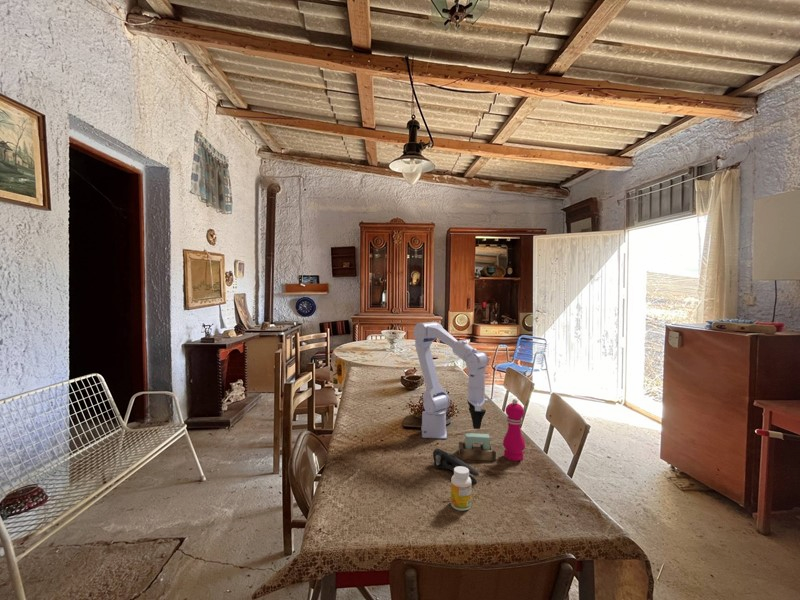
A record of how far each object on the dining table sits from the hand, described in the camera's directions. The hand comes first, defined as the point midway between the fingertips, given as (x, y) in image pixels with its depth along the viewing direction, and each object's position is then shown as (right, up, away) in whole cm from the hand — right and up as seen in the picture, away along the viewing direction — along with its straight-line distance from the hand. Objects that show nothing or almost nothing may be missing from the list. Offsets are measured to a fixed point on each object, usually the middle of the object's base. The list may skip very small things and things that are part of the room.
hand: (475, 424), depth 133 cm
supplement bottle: (-11, -11, -33) cm, 36 cm away
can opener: (-10, -10, -15) cm, 21 cm away
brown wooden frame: (0, -10, -4) cm, 10 cm away
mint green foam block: (0, -10, -3) cm, 10 cm away
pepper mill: (+12, -10, -4) cm, 16 cm away
